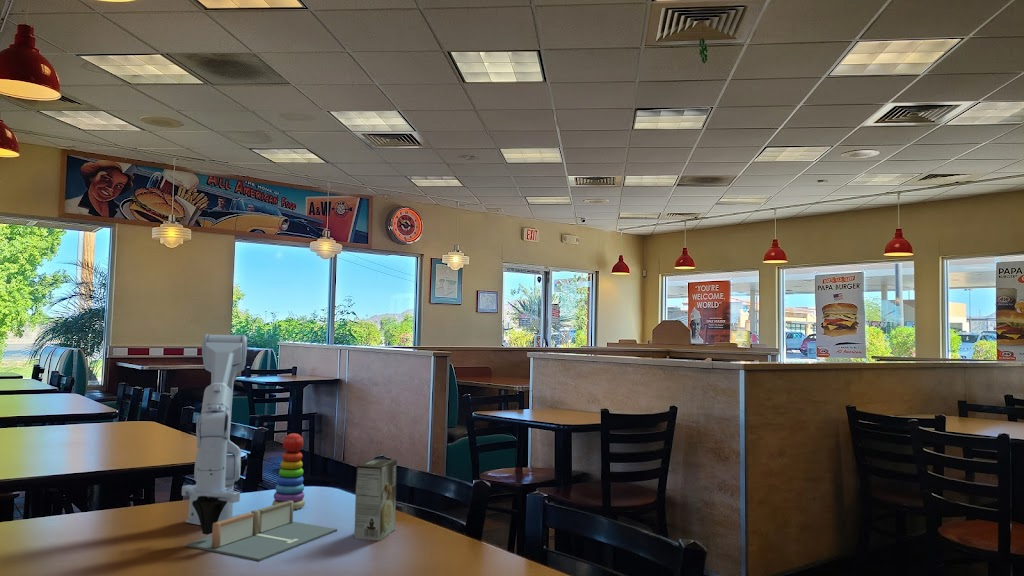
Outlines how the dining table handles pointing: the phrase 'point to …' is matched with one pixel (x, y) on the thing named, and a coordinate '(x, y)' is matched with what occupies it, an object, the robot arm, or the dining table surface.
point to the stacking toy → (291, 473)
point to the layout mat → (267, 541)
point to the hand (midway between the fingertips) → (208, 533)
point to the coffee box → (375, 499)
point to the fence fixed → (272, 517)
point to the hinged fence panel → (232, 529)
